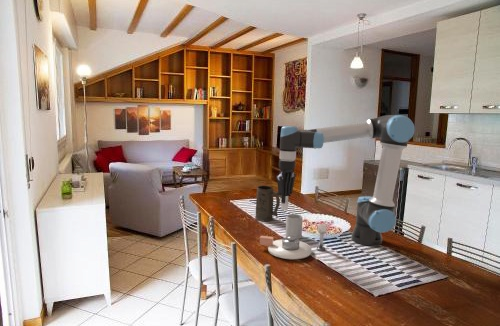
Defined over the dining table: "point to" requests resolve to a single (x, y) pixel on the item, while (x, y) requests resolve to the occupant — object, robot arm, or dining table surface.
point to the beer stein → (266, 203)
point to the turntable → (278, 251)
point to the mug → (294, 225)
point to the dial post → (321, 236)
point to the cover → (290, 243)
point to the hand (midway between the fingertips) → (284, 209)
